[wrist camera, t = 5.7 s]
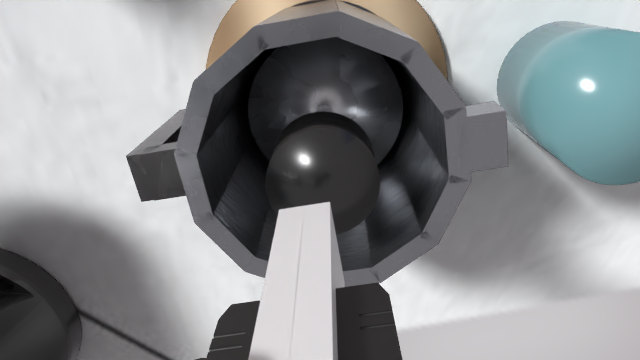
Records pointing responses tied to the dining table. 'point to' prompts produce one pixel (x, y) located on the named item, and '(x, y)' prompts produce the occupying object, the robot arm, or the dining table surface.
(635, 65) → the mug
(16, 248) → the dining table surface
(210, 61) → the trivet
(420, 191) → the carafe
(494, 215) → the dining table surface
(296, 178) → the plunger
